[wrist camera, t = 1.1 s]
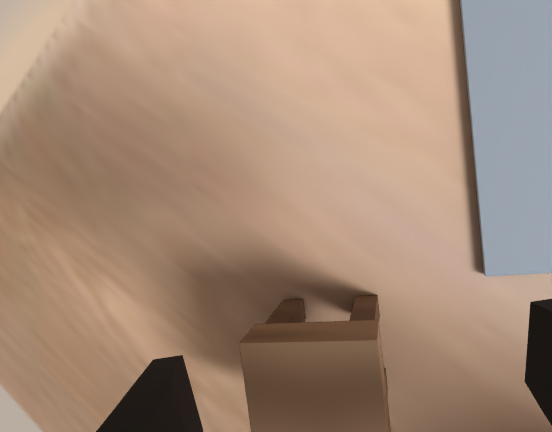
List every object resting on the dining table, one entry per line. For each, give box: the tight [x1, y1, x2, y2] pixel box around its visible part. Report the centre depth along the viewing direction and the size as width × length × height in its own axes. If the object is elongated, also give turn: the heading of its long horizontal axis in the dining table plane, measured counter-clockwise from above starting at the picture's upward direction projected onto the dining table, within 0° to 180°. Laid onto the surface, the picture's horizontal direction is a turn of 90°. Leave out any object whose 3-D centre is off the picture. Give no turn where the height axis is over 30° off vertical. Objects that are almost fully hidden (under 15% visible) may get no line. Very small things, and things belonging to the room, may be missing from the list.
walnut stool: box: [239, 295, 391, 432], centre depth 18 cm, size 5×5×6 cm
